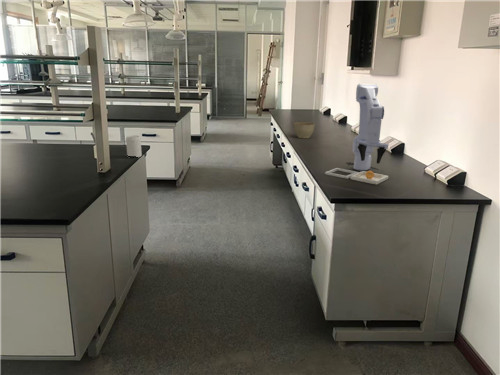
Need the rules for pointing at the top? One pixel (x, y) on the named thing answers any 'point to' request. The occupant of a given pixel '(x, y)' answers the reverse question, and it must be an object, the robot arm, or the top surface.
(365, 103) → the robot arm
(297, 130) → the planter bowl
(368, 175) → the ball
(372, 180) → the dish
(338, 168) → the tray
